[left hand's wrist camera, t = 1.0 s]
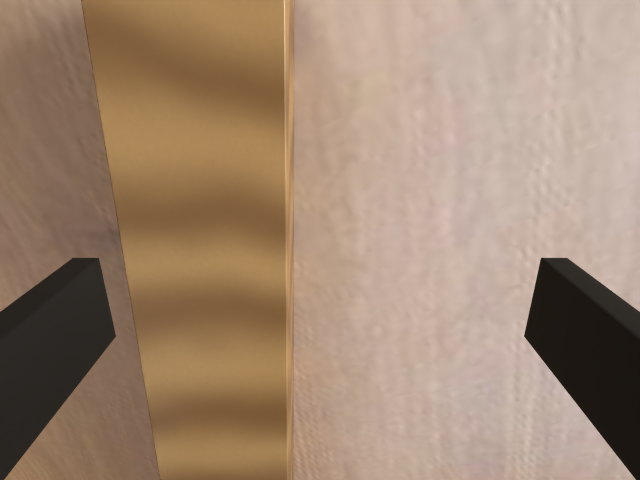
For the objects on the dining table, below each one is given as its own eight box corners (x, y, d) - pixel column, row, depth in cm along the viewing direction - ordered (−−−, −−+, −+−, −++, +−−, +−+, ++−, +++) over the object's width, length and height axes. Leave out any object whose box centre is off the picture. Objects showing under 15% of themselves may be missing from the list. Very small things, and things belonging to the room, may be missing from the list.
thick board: (138, -9, 26) (74, -38, 20) (294, -4, 27) (285, -31, 20) (204, 551, 47) (185, 633, 40) (292, 552, 47) (288, 635, 40)
